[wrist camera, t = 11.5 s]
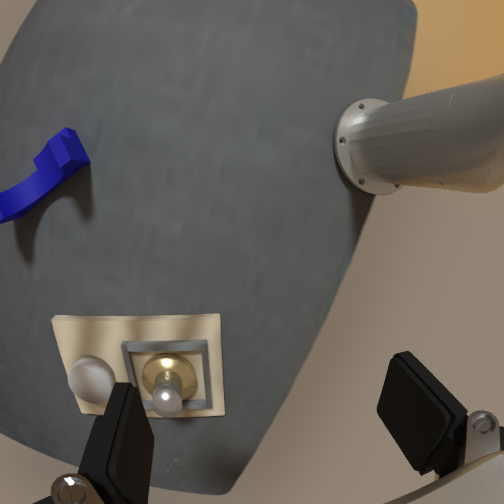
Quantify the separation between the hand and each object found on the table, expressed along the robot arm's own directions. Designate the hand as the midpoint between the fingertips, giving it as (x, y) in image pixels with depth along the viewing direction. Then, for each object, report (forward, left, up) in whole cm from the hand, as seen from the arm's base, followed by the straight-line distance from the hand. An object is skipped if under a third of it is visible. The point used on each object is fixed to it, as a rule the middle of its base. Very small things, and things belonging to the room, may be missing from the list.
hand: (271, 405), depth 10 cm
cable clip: (+21, -9, -27) cm, 35 cm away
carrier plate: (+11, +17, -26) cm, 33 cm away
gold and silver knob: (+7, +16, -25) cm, 30 cm away
